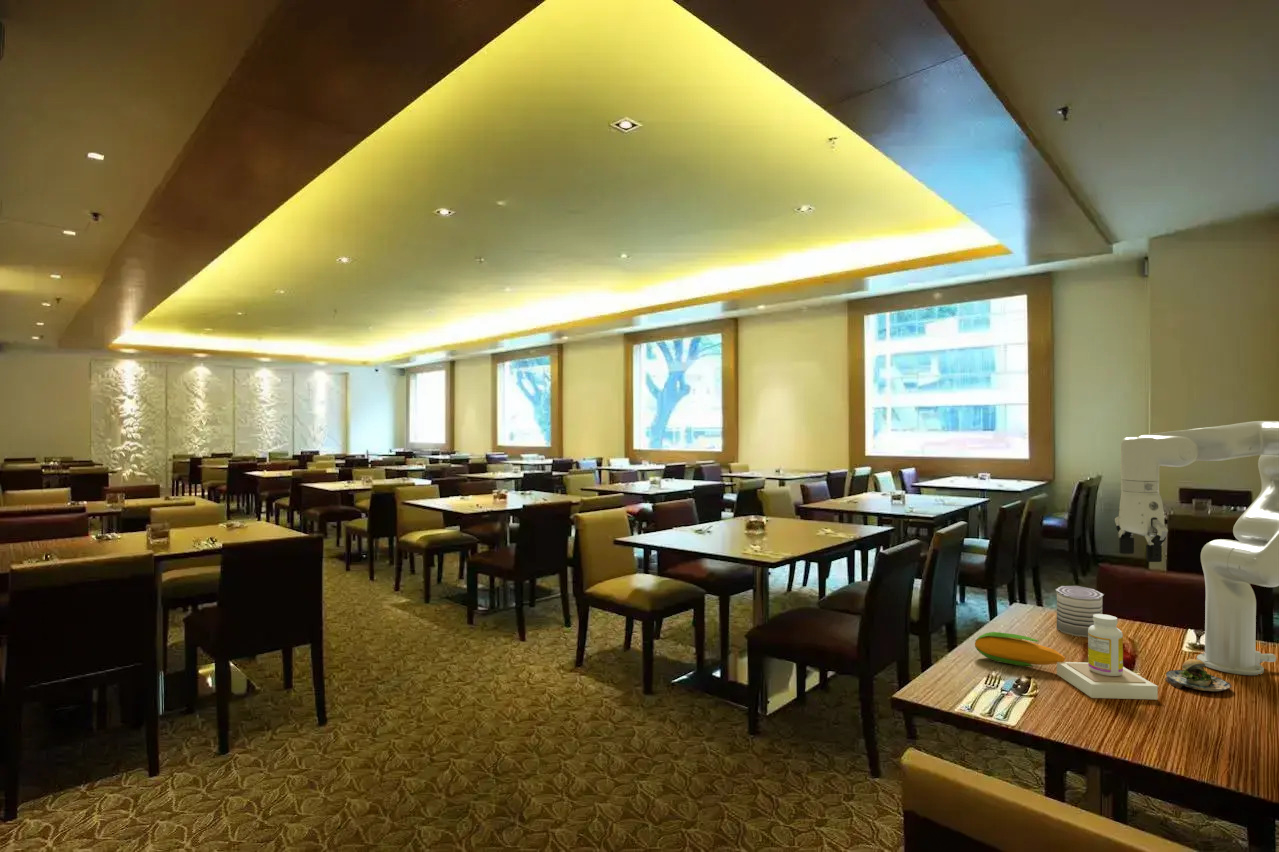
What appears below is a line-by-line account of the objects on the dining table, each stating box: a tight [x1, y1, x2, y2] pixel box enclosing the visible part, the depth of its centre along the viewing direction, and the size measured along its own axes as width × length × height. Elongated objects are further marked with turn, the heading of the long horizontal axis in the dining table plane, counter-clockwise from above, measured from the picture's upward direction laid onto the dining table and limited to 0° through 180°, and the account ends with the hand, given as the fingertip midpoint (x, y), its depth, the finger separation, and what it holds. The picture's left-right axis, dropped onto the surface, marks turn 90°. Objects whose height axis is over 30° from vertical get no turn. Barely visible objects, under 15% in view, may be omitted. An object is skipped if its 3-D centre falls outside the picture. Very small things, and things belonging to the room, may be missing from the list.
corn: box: [974, 631, 1066, 668], centre depth 171 cm, size 7×8×20 cm
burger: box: [1164, 650, 1233, 692], centre depth 158 cm, size 12×12×8 cm
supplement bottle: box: [1087, 613, 1124, 676], centre depth 157 cm, size 7×7×13 cm
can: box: [1055, 585, 1105, 638], centre depth 198 cm, size 11×11×12 cm
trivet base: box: [1056, 661, 1159, 700], centre depth 157 cm, size 14×14×3 cm
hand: (1139, 557), depth 166 cm, fingers open, 9 cm apart
